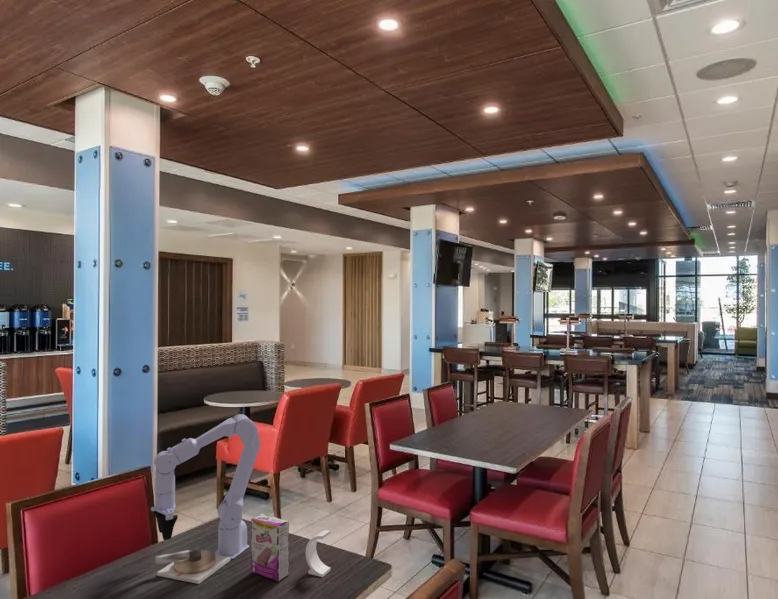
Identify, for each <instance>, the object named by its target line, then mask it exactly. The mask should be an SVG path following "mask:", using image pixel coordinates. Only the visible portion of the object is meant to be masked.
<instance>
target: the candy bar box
mask: <svg viewBox="0 0 778 599" xmlns="http://www.w3.org/2000/svg"><path fill="white" fill-rule="evenodd" d="M289 522H290V521H289V520H286V519H282V518H279V517H275V516H271V515H268V514H265V513H260V514H259V515H256V516H254V517H252V518H251V519H250V533H251V534H250V542H251V544H250V545H251V548H250V549H251V550H250V552H251V553H250V554H251V555H250V556H251V558H250V559H251V561H250V565H251V566H250V567H251V568H250V569H251V571H250V572H251V573H252V574H255V575H259V576H261V577H265V578H267V579H270V580H273V581H276V582H280V581H282V580H283V579H285V578H286V577H288V576H289V575H290V567H289V566H290V564H289V563H290V560H289V559H290V551H289V550H290V548H289V547H290V546H289V545H290V539H289V538H290V536H289V534H290V530H289V528H290V527H289V526H290V525H289Z"/></svg>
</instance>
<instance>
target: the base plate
mask: <svg viewBox="0 0 778 599" xmlns="http://www.w3.org/2000/svg"><path fill="white" fill-rule="evenodd" d="M230 561H231V559H230V557H226V556H220V555H215V564H214V565H213V566H212V567H210V568H209V569H207V570H204V571H201V572H198V573H191V574H184V573H179V572H177V571H175V570H174V562H170V563H168V565H166V566H164V567H163V568H162V569H160V570H158V571H157V575H156V576H157V577H163V578H167V579H172V580H178V581H183V582H188V583H193V584H198V585H199V584H201V583H202V582H204V581H205V580H206V579H207V578H209V577H210V576H211V575H213V574H214V573H216V572H217V571H219V570H220V569H221V568H222V567H224V566H226V565H227V564H228V563H229V562H230Z"/></svg>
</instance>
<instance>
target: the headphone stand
mask: <svg viewBox="0 0 778 599" xmlns="http://www.w3.org/2000/svg"><path fill="white" fill-rule="evenodd" d="M330 534H331V530H329V529H326V530H322V531H321V532H319V533H318V534H316V535H315V536H313V537H312V538H311V539H309V540H308V541H307V544H306V547H305V559H306V562H307V564H308V565H307V566H308V567H309V570H308V575H312V576H316V577H320V578H323V577H325V576H326V575H327V574H328V573H329V572H331V571H332V570H331V566H328V565H326V564H325V563H324V562H323V561H321V558H320V557H319V555H318V551H317V543H318V541H319V540H323V539H325V538H326V537H328V536H329V535H330Z"/></svg>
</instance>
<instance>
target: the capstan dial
mask: <svg viewBox="0 0 778 599" xmlns="http://www.w3.org/2000/svg"><path fill="white" fill-rule="evenodd" d="M172 562H174V570H175V571H177V572H179V573H184V574H191V573H198V572H201V571H204V570H207V569H209V568H210V567H212V566H213V565H214V564H215V554H214V552H213V551H211V550H208V549H202V548H201V547H198V546H196V547H191V548H189V549H187V550H181V551H176V552H171V553H165V554H160V555H156V556H155V566H158V565H164V564H170V563H172Z"/></svg>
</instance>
